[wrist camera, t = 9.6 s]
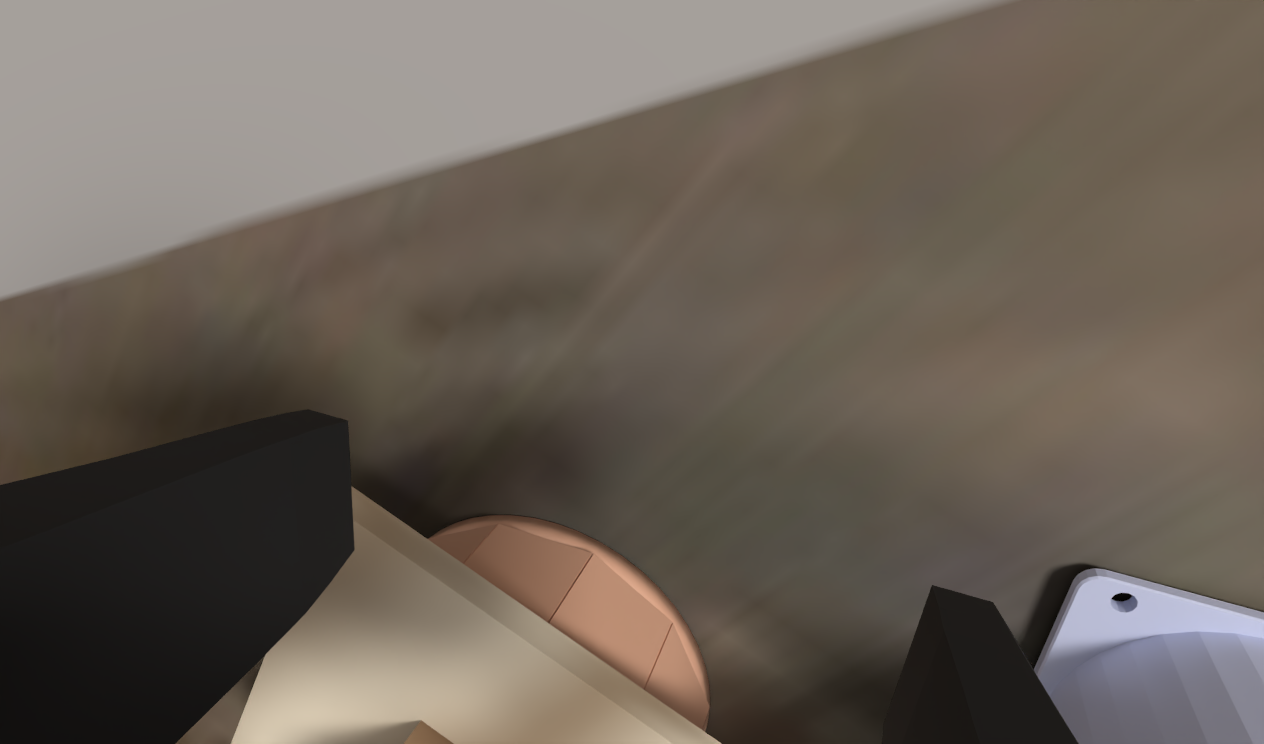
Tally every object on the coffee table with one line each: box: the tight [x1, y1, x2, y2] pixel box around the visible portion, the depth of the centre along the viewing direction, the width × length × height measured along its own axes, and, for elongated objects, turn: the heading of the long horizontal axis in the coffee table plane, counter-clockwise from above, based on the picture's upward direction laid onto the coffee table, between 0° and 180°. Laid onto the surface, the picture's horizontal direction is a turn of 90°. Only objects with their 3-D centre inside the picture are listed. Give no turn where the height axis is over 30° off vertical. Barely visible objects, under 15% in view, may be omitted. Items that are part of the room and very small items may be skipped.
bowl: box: [428, 515, 710, 732], centre depth 23 cm, size 11×11×4 cm
